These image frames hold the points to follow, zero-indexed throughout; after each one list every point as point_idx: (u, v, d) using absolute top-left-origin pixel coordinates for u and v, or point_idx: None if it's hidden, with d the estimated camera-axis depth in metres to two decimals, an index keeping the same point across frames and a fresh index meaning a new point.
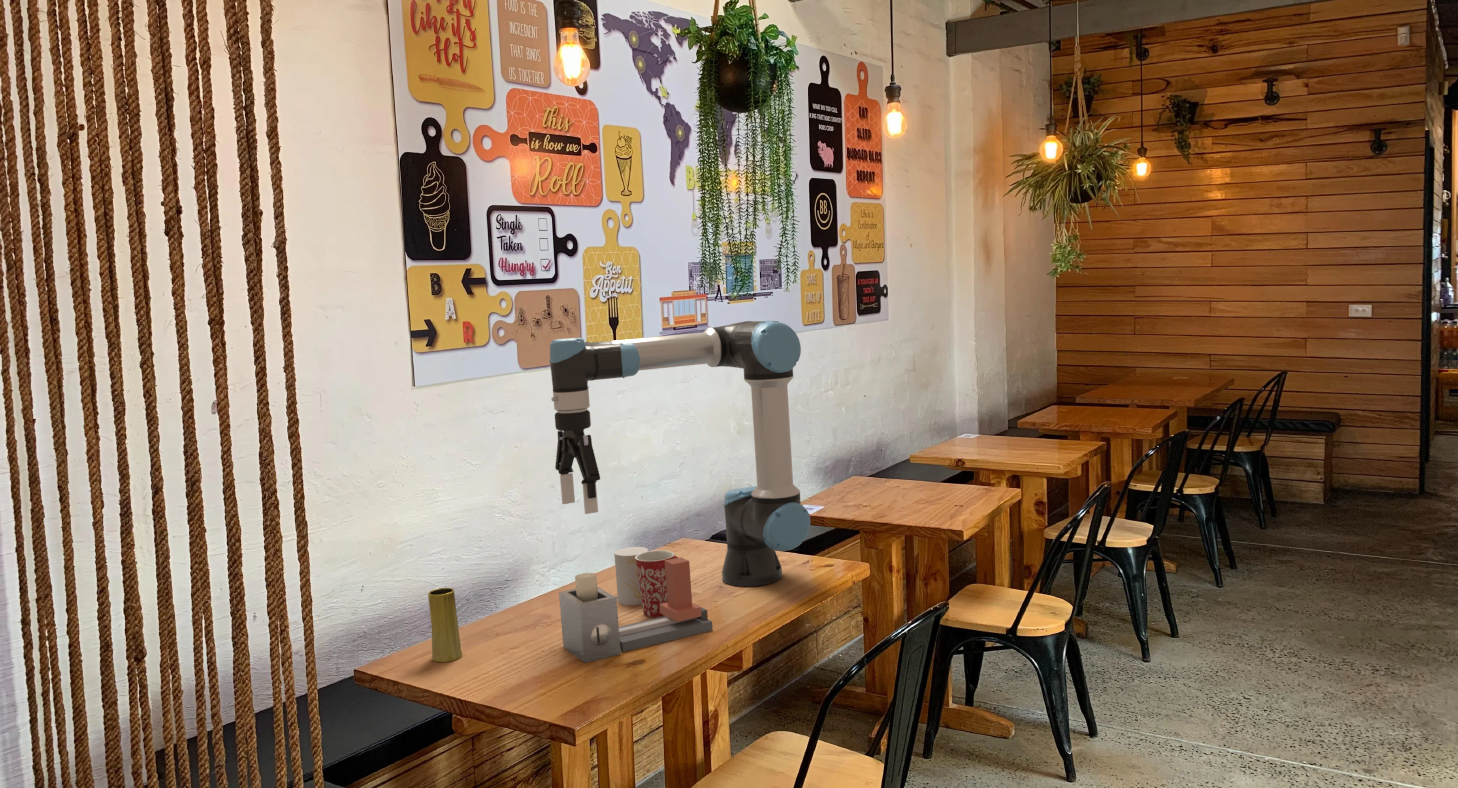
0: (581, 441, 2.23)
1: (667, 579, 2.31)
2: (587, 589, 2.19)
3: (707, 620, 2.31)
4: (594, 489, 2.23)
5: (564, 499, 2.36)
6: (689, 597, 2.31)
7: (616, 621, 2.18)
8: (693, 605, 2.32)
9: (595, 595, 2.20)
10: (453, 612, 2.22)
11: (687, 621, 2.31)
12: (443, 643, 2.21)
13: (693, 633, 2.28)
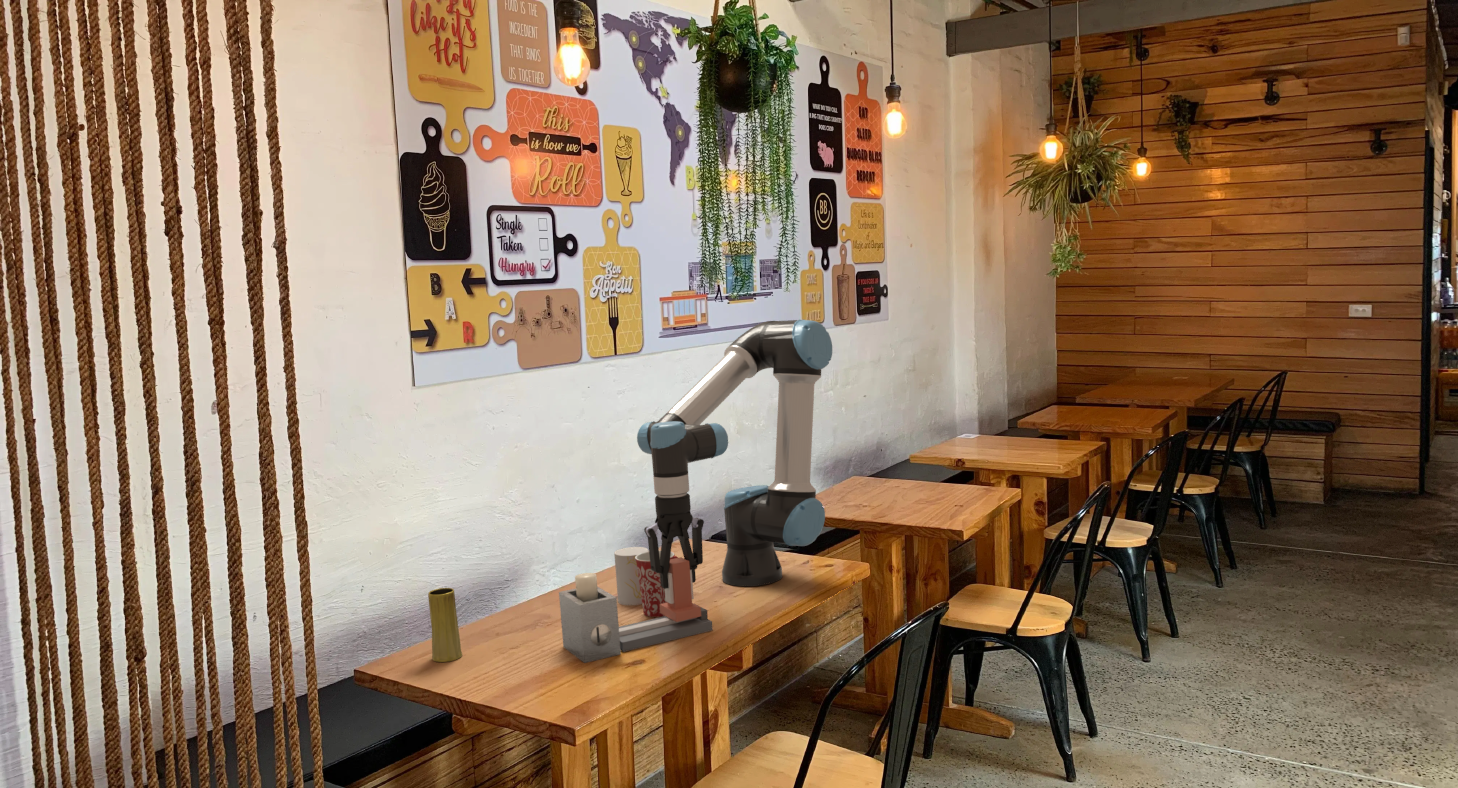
0: (646, 533, 2.28)
1: None
2: (587, 589, 2.19)
3: (707, 620, 2.31)
4: (662, 580, 2.29)
5: None
6: (689, 597, 2.31)
7: (616, 621, 2.18)
8: (693, 605, 2.32)
9: (595, 595, 2.20)
10: (453, 612, 2.22)
11: (687, 621, 2.31)
12: (443, 643, 2.21)
13: (693, 633, 2.28)
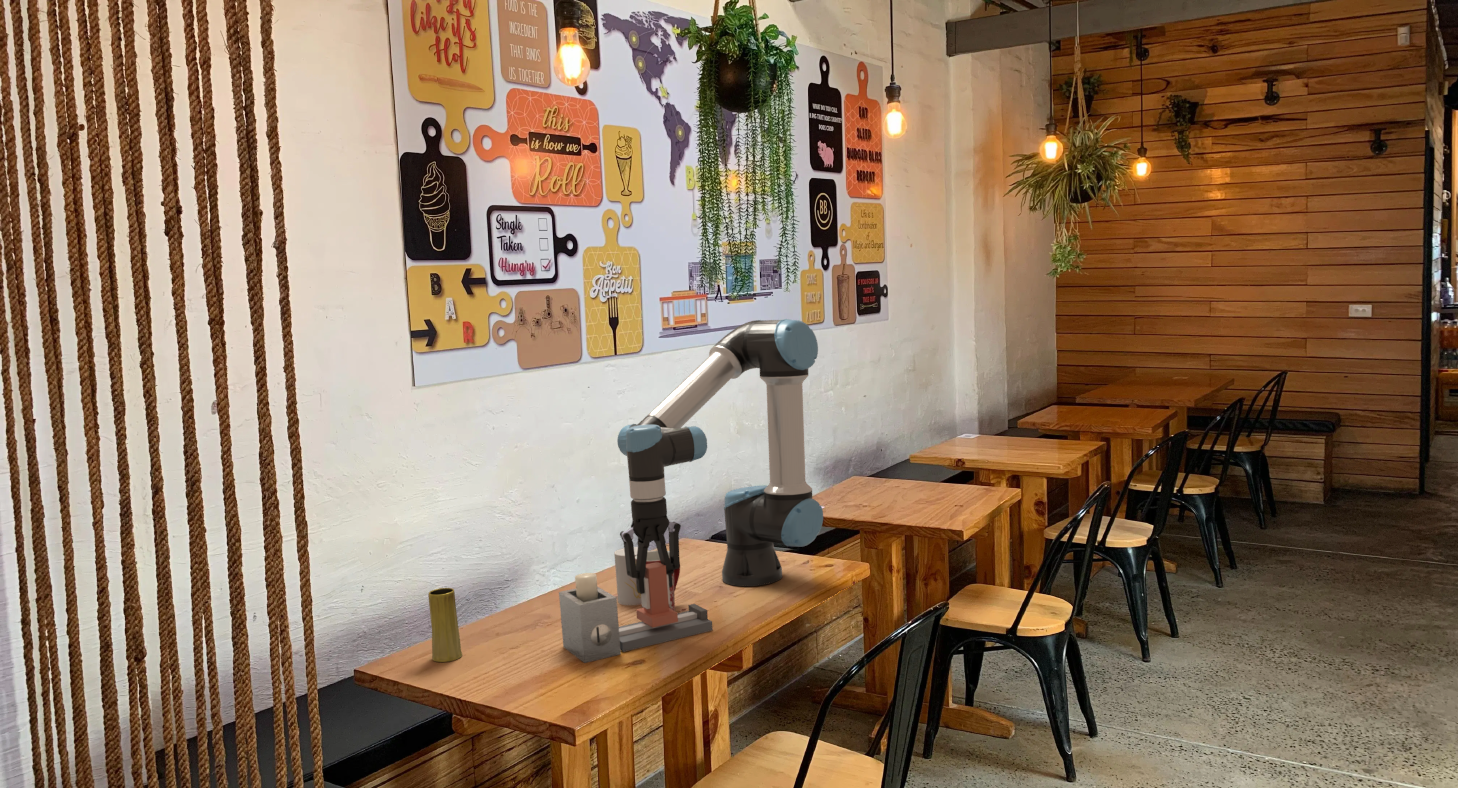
0: (621, 537, 2.25)
1: None
2: (587, 589, 2.19)
3: (707, 620, 2.31)
4: (638, 585, 2.26)
5: None
6: (666, 602, 2.28)
7: (616, 621, 2.18)
8: (670, 610, 2.29)
9: (595, 595, 2.20)
10: (453, 612, 2.22)
11: (687, 621, 2.31)
12: (443, 643, 2.21)
13: (693, 633, 2.28)
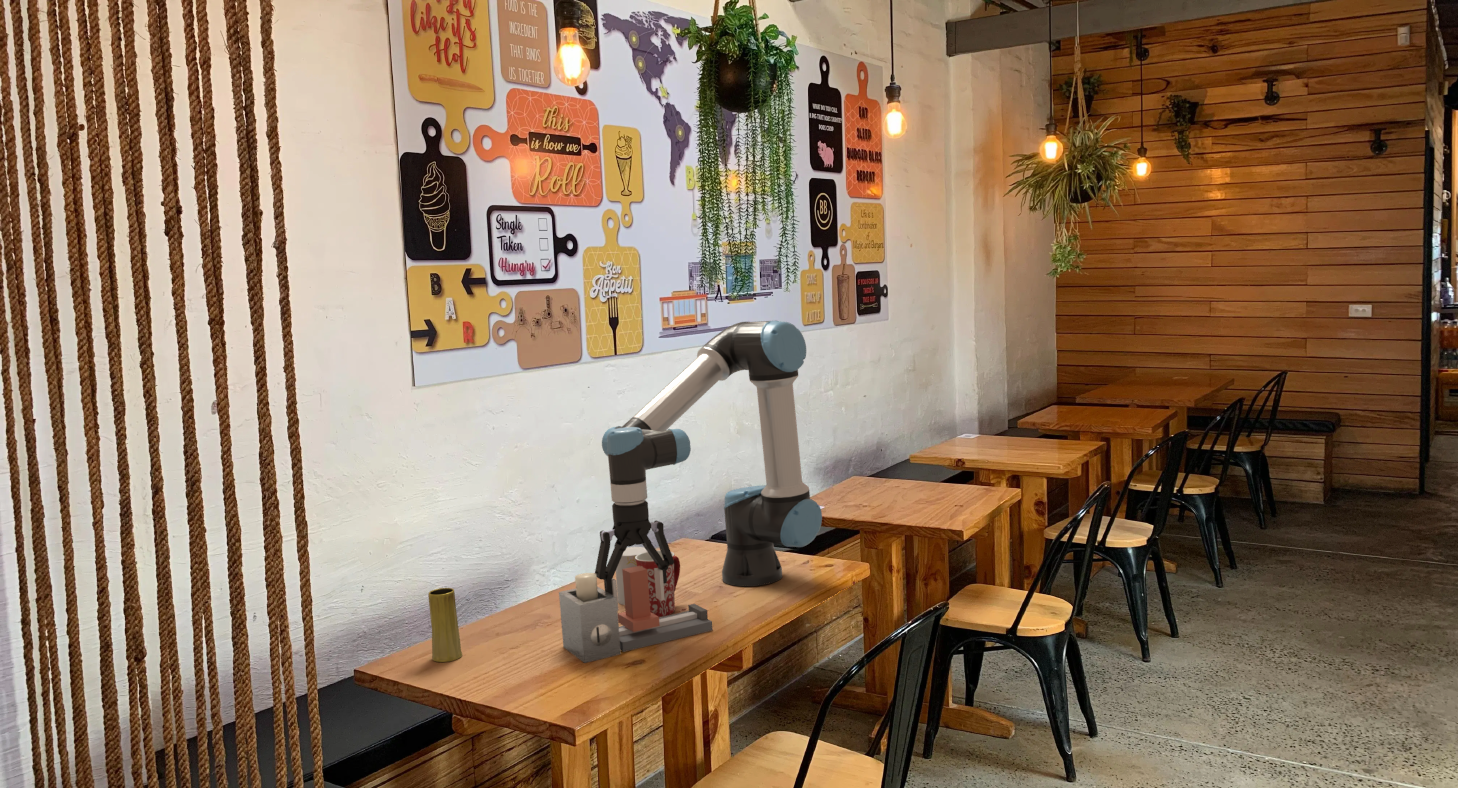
0: (600, 536, 2.23)
1: (625, 588, 2.27)
2: (587, 589, 2.19)
3: (707, 620, 2.31)
4: (606, 587, 2.23)
5: (656, 593, 2.30)
6: (647, 606, 2.26)
7: (616, 621, 2.18)
8: (651, 614, 2.27)
9: (595, 595, 2.20)
10: (453, 612, 2.22)
11: (687, 621, 2.31)
12: (443, 643, 2.21)
13: (693, 633, 2.28)
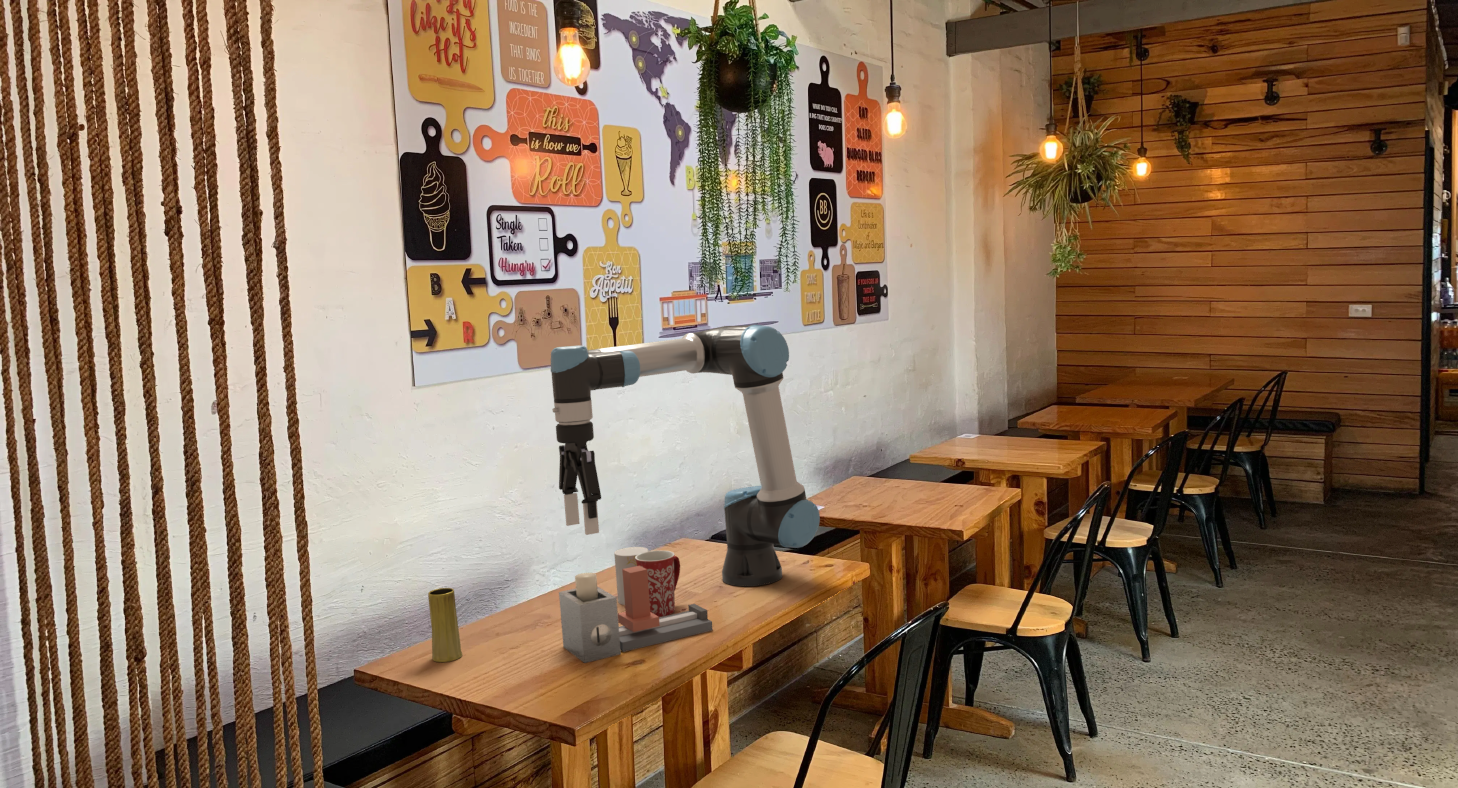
0: (584, 458, 2.12)
1: (625, 588, 2.27)
2: (587, 589, 2.19)
3: (707, 620, 2.31)
4: (595, 509, 2.14)
5: (568, 520, 2.24)
6: (647, 606, 2.26)
7: (616, 621, 2.18)
8: (651, 614, 2.27)
9: (595, 595, 2.20)
10: (453, 612, 2.22)
11: (687, 621, 2.31)
12: (443, 643, 2.21)
13: (693, 633, 2.28)
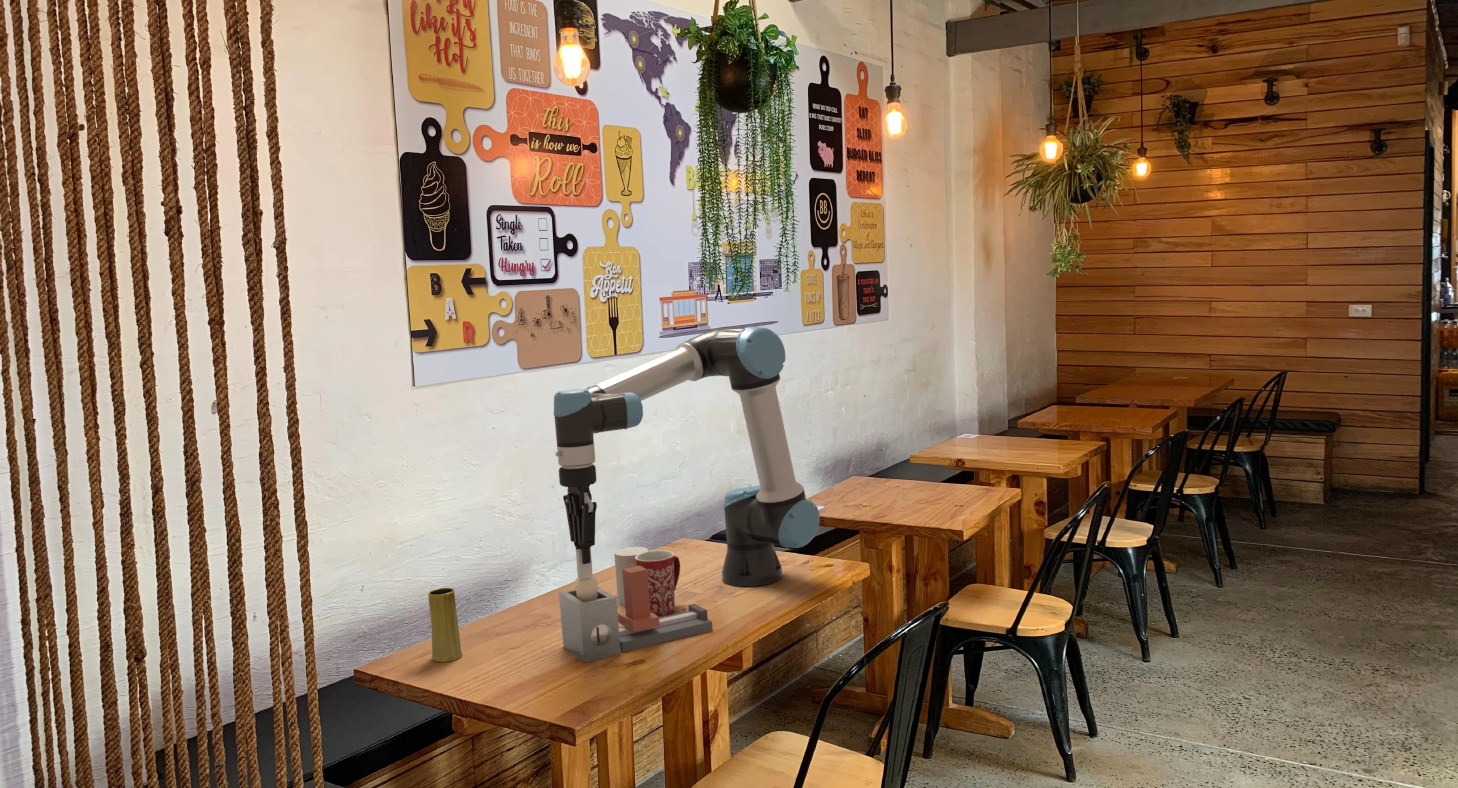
0: (585, 510, 2.14)
1: (625, 588, 2.27)
2: (587, 592, 2.19)
3: (707, 620, 2.31)
4: (589, 554, 2.19)
5: None
6: (647, 606, 2.26)
7: (616, 621, 2.18)
8: (651, 614, 2.27)
9: (595, 598, 2.20)
10: (453, 612, 2.22)
11: (687, 621, 2.31)
12: (443, 643, 2.21)
13: (693, 633, 2.28)
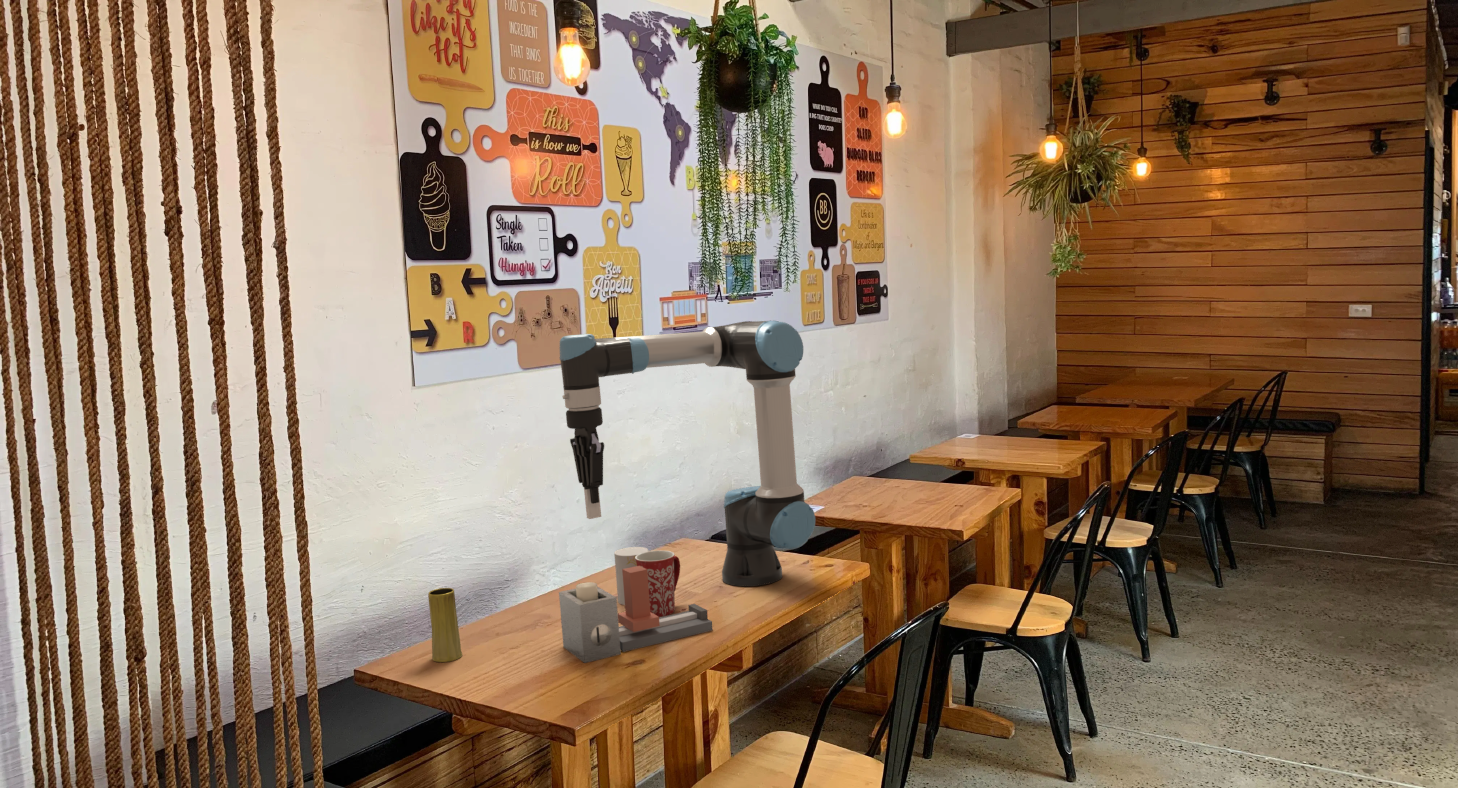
0: (594, 450, 2.20)
1: (625, 588, 2.27)
2: (588, 599, 2.19)
3: (707, 620, 2.31)
4: (597, 494, 2.26)
5: None
6: (647, 606, 2.26)
7: (616, 621, 2.18)
8: (651, 614, 2.27)
9: None
10: (453, 612, 2.22)
11: (687, 621, 2.31)
12: (443, 643, 2.21)
13: (693, 633, 2.28)
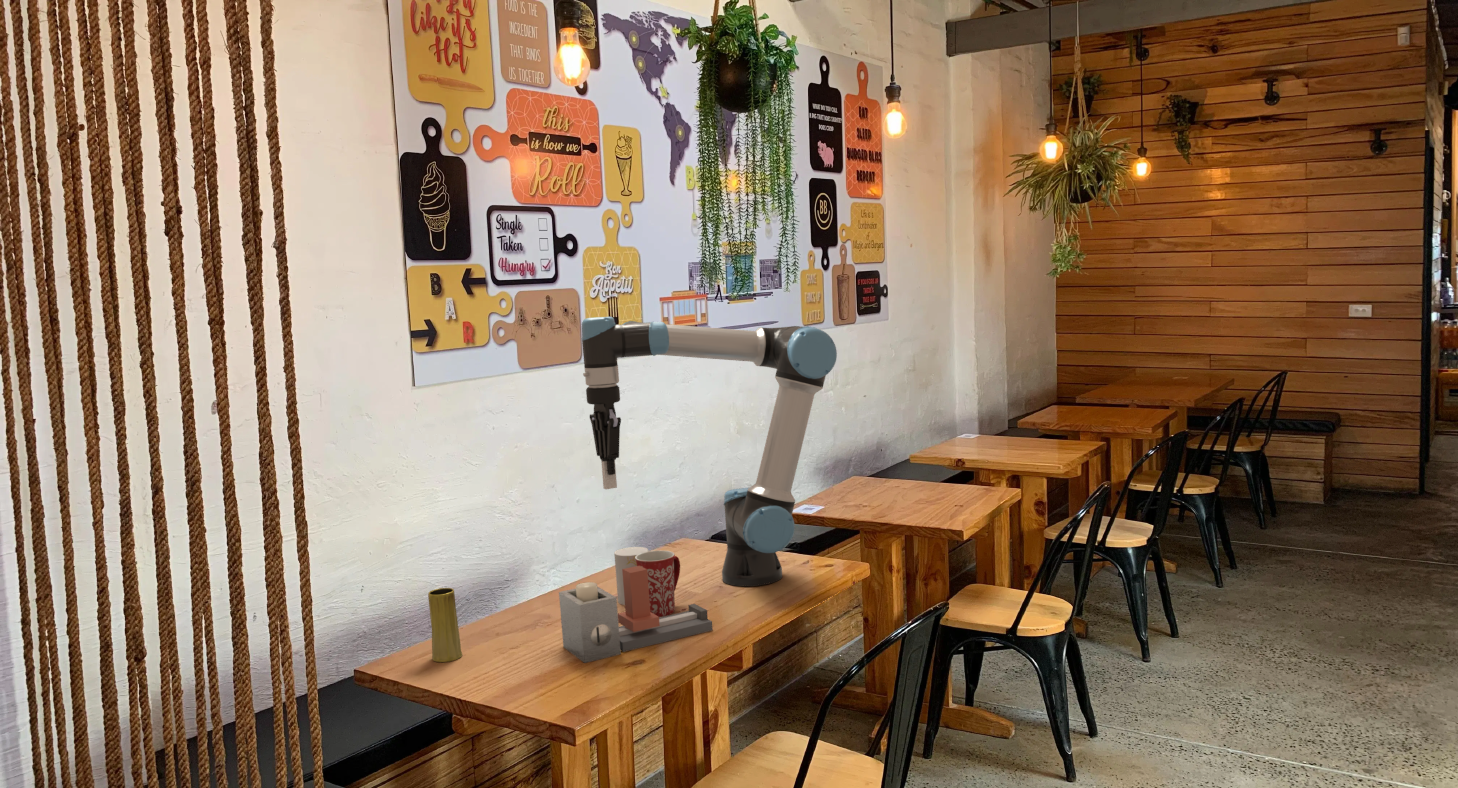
0: (611, 424, 2.37)
1: (625, 588, 2.27)
2: (588, 599, 2.19)
3: (707, 620, 2.31)
4: (613, 466, 2.42)
5: None
6: (647, 606, 2.26)
7: (616, 621, 2.18)
8: (651, 614, 2.27)
9: None
10: (453, 612, 2.22)
11: (687, 621, 2.31)
12: (443, 643, 2.21)
13: (693, 633, 2.28)
